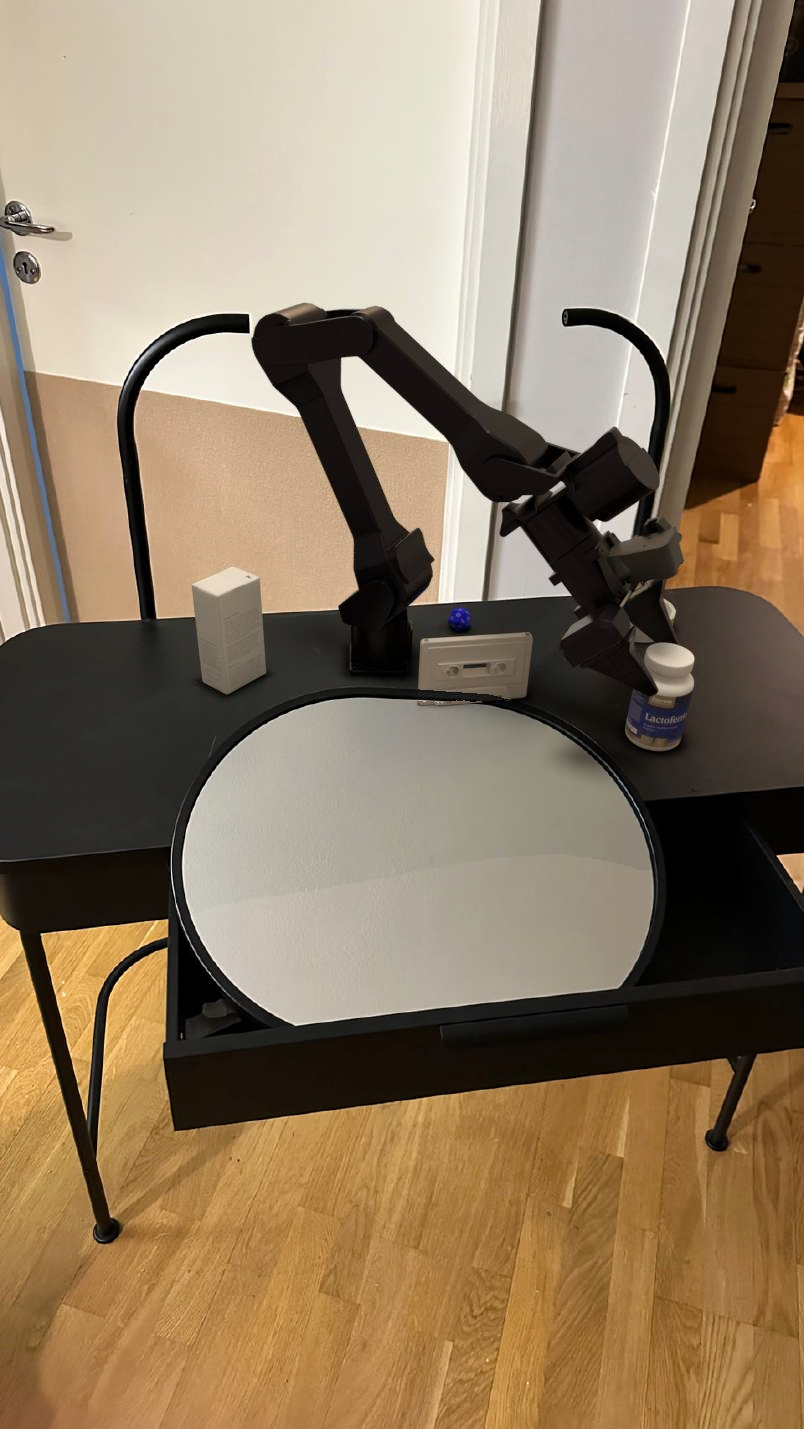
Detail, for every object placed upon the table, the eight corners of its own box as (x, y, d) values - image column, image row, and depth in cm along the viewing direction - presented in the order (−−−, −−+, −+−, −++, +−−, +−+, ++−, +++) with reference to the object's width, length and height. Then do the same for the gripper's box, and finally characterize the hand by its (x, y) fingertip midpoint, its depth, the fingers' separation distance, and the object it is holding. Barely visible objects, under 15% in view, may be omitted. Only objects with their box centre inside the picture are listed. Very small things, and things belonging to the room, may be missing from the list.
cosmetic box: (240, 661, 111) (233, 564, 104) (267, 674, 109) (261, 576, 102) (199, 682, 107) (189, 583, 101) (226, 696, 105) (218, 596, 98)
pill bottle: (640, 756, 98) (657, 671, 93) (614, 725, 103) (630, 642, 97) (691, 749, 100) (711, 665, 94) (664, 718, 104) (681, 636, 99)
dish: (607, 642, 117) (611, 624, 116) (593, 608, 125) (595, 590, 123) (680, 643, 118) (684, 624, 116) (661, 608, 125) (664, 591, 124)
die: (466, 636, 118) (452, 619, 116) (453, 634, 120) (439, 617, 119) (479, 620, 119) (466, 602, 117) (466, 618, 121) (453, 601, 119)
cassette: (523, 690, 108) (530, 629, 104) (527, 700, 106) (535, 638, 102) (415, 698, 106) (418, 636, 102) (419, 708, 104) (422, 645, 100)
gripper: (611, 536, 82) (717, 681, 85) (663, 469, 96) (753, 595, 99) (515, 600, 89) (615, 731, 92) (576, 529, 104) (662, 644, 106)
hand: (665, 672), depth 97 cm, fingers open, 9 cm apart
